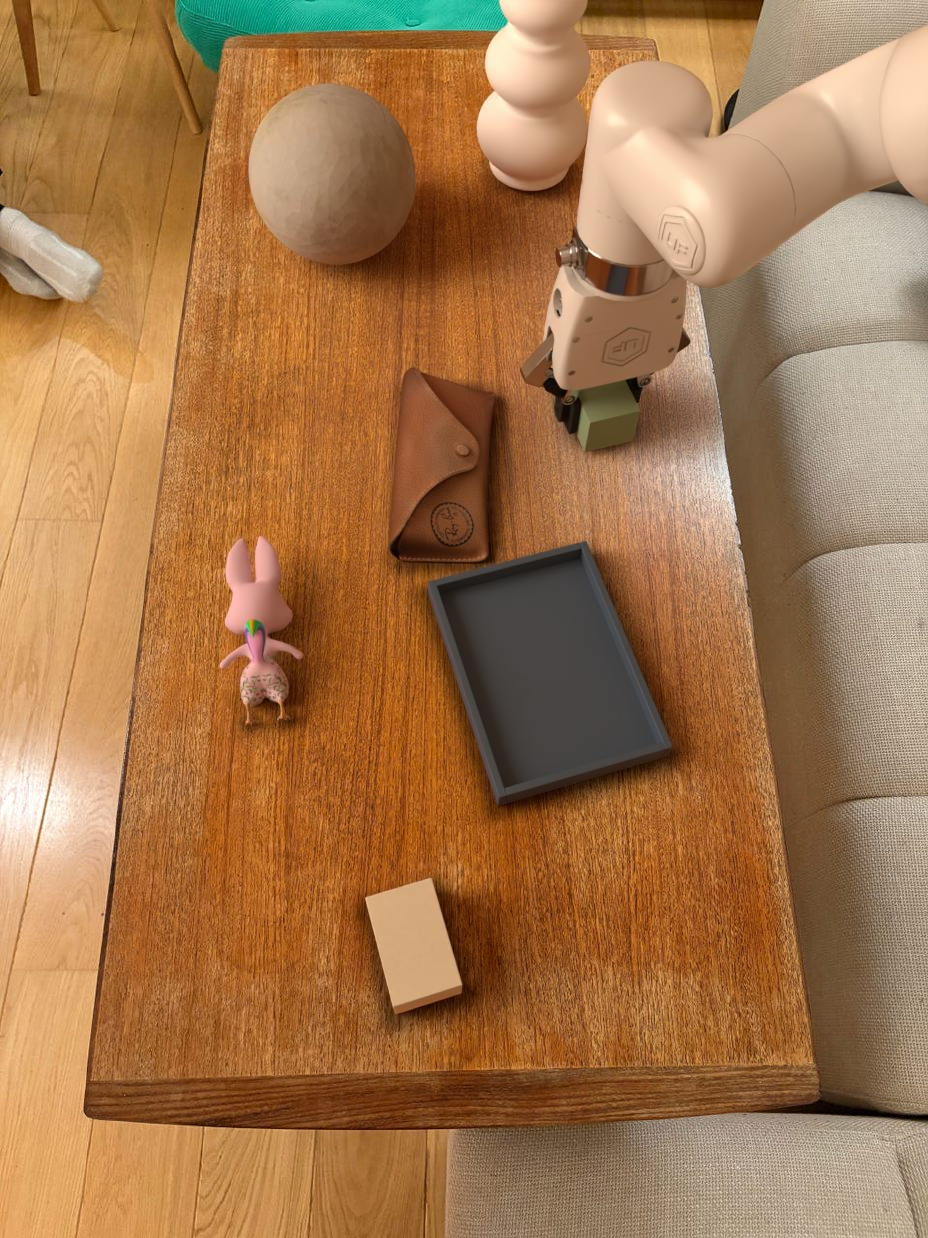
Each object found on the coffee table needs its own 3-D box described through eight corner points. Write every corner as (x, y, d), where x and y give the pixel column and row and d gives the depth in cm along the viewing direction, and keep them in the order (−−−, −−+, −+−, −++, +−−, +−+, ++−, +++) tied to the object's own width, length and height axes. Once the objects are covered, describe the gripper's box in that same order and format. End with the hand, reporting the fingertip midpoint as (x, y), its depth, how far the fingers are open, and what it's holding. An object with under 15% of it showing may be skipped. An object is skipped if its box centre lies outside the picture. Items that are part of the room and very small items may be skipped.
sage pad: (604, 380, 90) (610, 348, 86) (633, 440, 87) (640, 410, 83) (557, 391, 89) (561, 360, 86) (584, 452, 86) (589, 422, 83)
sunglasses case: (495, 561, 81) (453, 521, 76) (421, 581, 84) (376, 544, 79) (497, 387, 89) (460, 340, 84) (430, 411, 93) (390, 367, 87)
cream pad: (432, 890, 70) (431, 877, 66) (461, 993, 66) (462, 985, 63) (369, 909, 69) (364, 897, 65) (395, 1014, 66) (393, 1007, 62)
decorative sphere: (267, 190, 101) (239, 46, 88) (416, 187, 102) (411, 44, 88) (259, 300, 94) (228, 162, 81) (419, 297, 95) (414, 160, 82)
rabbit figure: (312, 721, 77) (293, 540, 81) (303, 703, 71) (284, 509, 75) (229, 733, 76) (215, 550, 81) (214, 715, 70) (199, 519, 75)
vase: (594, 196, 102) (636, -68, 79) (489, 212, 100) (502, -51, 78) (565, 126, 106) (596, -141, 84) (464, 140, 105) (469, -127, 83)
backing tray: (583, 553, 82) (586, 540, 80) (667, 756, 74) (673, 747, 73) (428, 593, 80) (427, 581, 79) (497, 806, 72) (498, 797, 71)
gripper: (530, 310, 69) (516, 470, 85) (757, 260, 71) (701, 425, 87) (497, 236, 72) (489, 403, 88) (714, 190, 75) (668, 361, 91)
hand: (595, 413), depth 88 cm, fingers closed on sage pad, 4 cm apart
